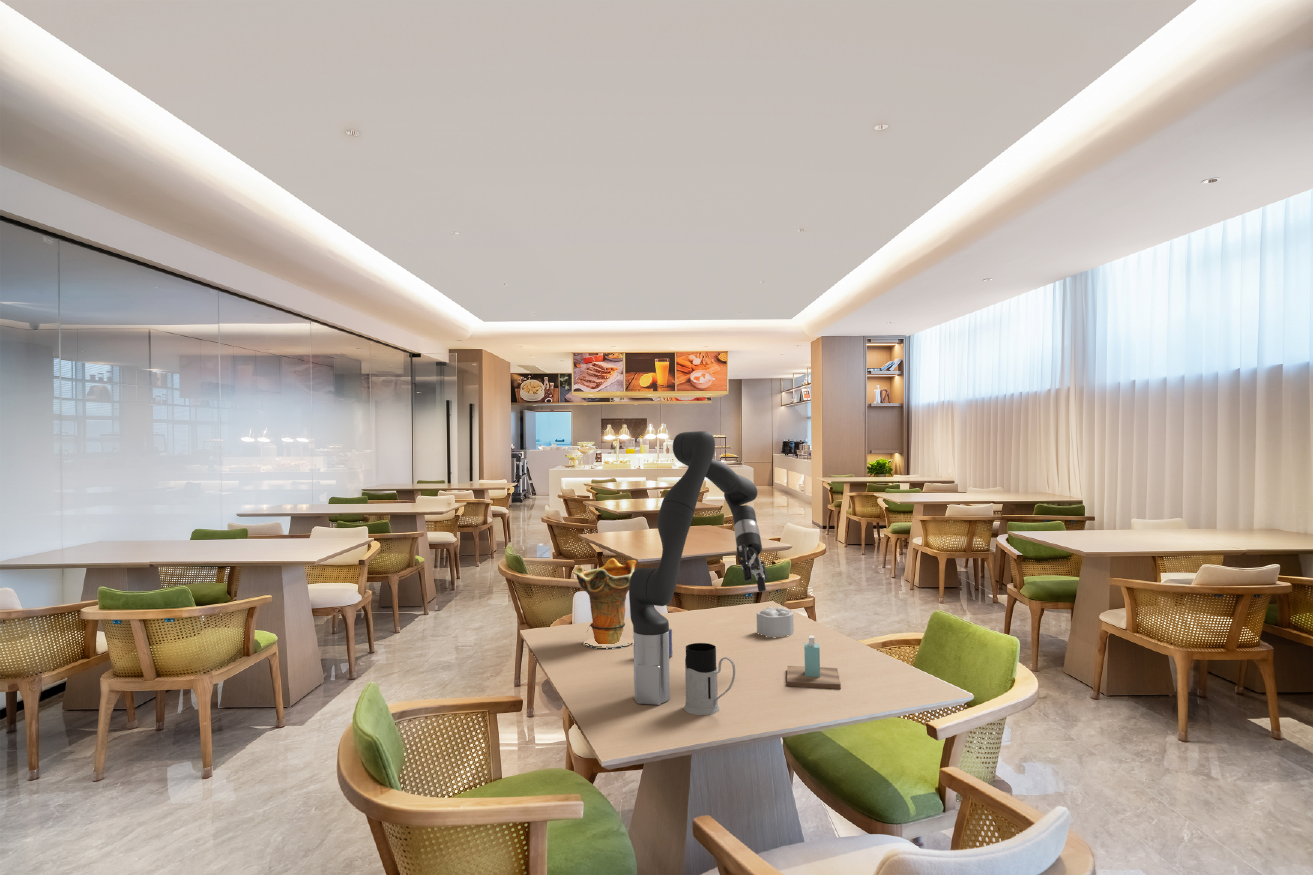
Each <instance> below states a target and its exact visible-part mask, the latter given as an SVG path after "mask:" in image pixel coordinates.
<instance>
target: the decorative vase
mask: <svg viewBox="0 0 1313 875" xmlns="http://www.w3.org/2000/svg"><path fill="white" fill-rule="evenodd" d="M636 565H637V560H633V559H630V560H626V561H625V564H621V563H619V562H618V560H617V559H615V558H613V557H612V558H609V559H608V560H607V561H606V562H605V564H604V565H603V566H601V567H599V568H592V569H587V570H584V567H583V566H576V567H575V568H574V570H573V574H574V575H575V576H576V579H577V581H578V584H579V586H580V587H581V589H583V591H585V593H586V594H587V595H588V596H589V597H588V598H589V604H590V613H591V619H592V622H591V623H590V624H589V626H588V628H589V627H591V629H592V633H593V636H594V639H595V641H596V642H597V643H598V644H615V643H617V642H619V641H620V638H621V636H622V634H623V632H624V630H625V629H624V627H625V626H626V623H625V617H626V600H627V594H628V593H629V582H630V578H631V575H632V573H633V572H634V571H635V570H636ZM588 630H589V629H587V631H586V632H588ZM585 644H588V643H585ZM626 644H629V643H626ZM588 645H589V646H592V647H602V646H593V645H590V644H588ZM623 645H625V644H623ZM623 645H620V646H613V647H621V646H623ZM592 647H591V648H592ZM606 647H612V646H606ZM621 648H622V647H621Z"/></svg>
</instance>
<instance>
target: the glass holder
mask: <svg viewBox="0 0 1313 875" xmlns="http://www.w3.org/2000/svg"><path fill="white" fill-rule="evenodd" d="M724 660H727V661H729V662H730V663H731V666H732V677H731V681H730V684H729V686H728V688H727V689H726V690H725V691H724V692H723V693H721V694H720V695H718V674H719V673H721V672H722V671H721V670H722V662H723V661H724ZM684 662H685V663H684V666H685V672H684V674H685V704H684V708H683V709H684V711H685V712H686V713H687V714H691V715H693V716H710V715H714V714H716V712H717V713H719V711H720V710H719V709H720V705H719V703H718V700H719V699H720V698H722V697H723V696H725V694H726V693H728V692H729V691H730V690H731V689H732V687H733V685H734V682H735V678H736V667H735V666H736V665H735V662H734V661H733V660H732V659H731V658H730V657H727V656H726V657H725V656H724V657H722V658H720V660H719V661H718V667H717V647H716V645H715V644H711V643H705V642H695V643H690V644H687V645H686V646H685V659H684Z"/></svg>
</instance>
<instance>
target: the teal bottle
mask: <svg viewBox="0 0 1313 875" xmlns="http://www.w3.org/2000/svg"><path fill="white" fill-rule="evenodd" d="M803 643H804V642H803ZM803 648H804V656H803V657H804V667H805V677H820V667H821V659H820V657H821V656H820V654H821V653H820V643H815V635H808V643H807V642H805V643H804V644H803Z"/></svg>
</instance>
